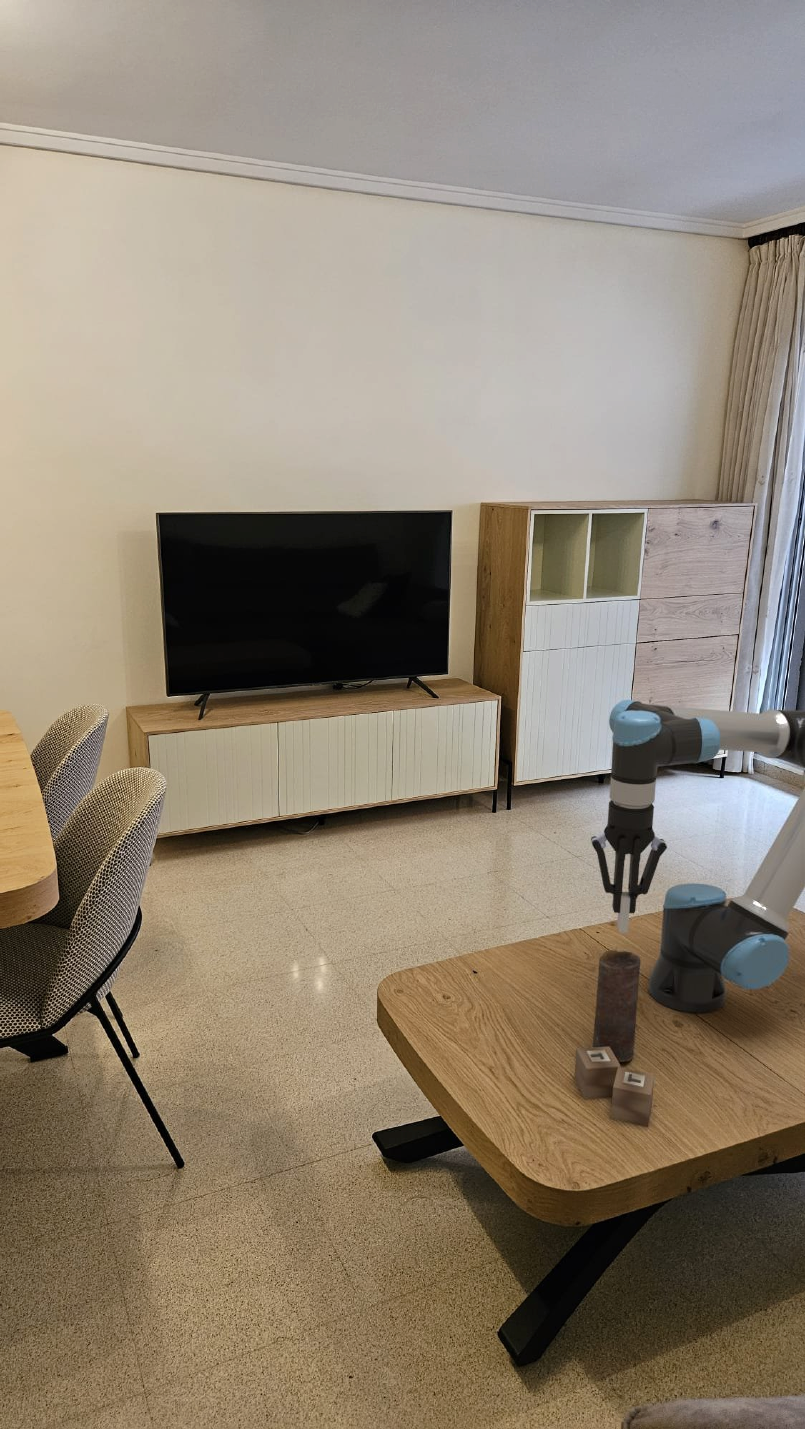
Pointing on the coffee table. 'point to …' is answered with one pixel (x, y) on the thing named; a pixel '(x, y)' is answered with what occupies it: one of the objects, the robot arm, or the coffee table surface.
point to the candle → (617, 1003)
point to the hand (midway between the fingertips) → (622, 928)
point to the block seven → (632, 1096)
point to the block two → (595, 1072)
